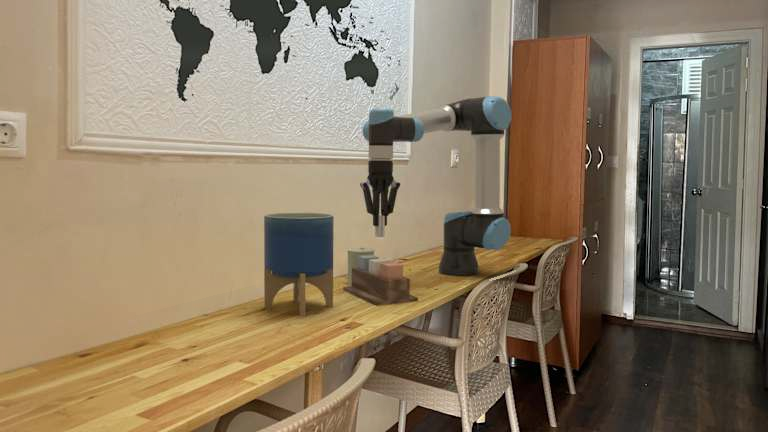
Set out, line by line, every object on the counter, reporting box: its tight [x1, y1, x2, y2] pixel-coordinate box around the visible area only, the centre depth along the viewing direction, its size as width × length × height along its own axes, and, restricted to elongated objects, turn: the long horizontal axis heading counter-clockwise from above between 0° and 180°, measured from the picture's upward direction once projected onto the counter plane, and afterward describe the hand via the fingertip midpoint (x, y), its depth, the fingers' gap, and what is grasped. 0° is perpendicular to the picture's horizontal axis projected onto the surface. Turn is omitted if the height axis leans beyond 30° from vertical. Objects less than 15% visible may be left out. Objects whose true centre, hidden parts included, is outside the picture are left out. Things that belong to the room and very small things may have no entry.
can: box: [346, 247, 375, 286], centre depth 210 cm, size 9×9×12 cm
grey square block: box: [358, 255, 380, 271], centre depth 198 cm, size 5×5×6 cm
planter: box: [263, 211, 334, 317], centre depth 173 cm, size 19×19×26 cm
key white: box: [369, 258, 391, 275], centre depth 191 cm, size 5×5×6 cm
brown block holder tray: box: [342, 267, 419, 306], centre depth 191 cm, size 14×24×7 cm, turn 27°
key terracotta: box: [380, 261, 404, 280], centre depth 184 cm, size 5×5×6 cm
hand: (379, 236), depth 190 cm, fingers closed
